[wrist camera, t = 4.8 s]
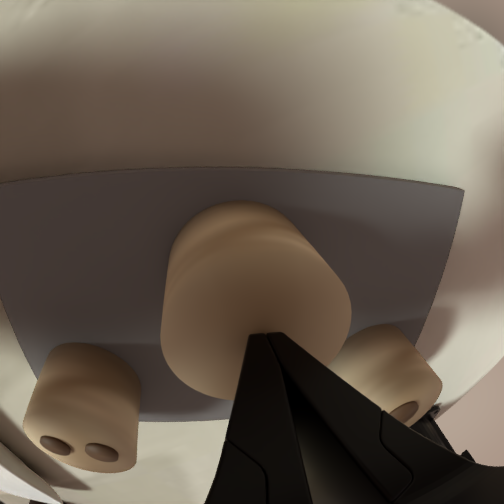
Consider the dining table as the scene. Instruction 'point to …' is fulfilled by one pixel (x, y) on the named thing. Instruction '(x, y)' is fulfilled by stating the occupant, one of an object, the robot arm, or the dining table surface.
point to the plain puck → (245, 294)
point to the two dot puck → (86, 409)
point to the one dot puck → (388, 372)
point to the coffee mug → (37, 502)
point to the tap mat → (162, 238)
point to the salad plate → (23, 480)
